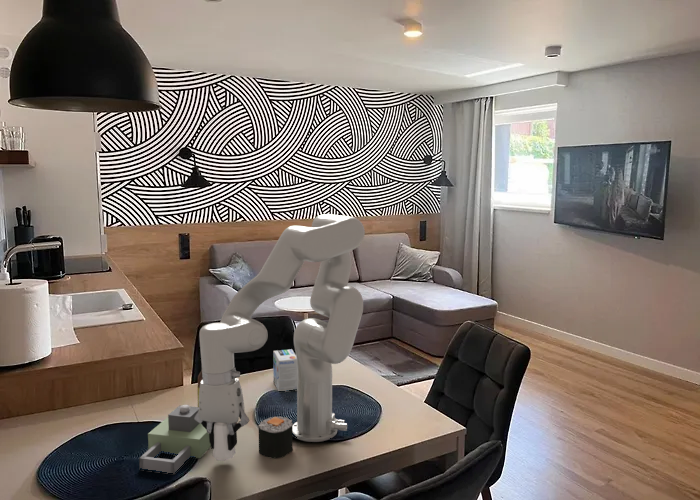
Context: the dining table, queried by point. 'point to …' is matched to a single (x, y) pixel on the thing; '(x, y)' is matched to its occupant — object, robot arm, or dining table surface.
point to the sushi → (275, 437)
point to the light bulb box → (285, 370)
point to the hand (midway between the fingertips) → (223, 446)
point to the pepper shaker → (221, 442)
